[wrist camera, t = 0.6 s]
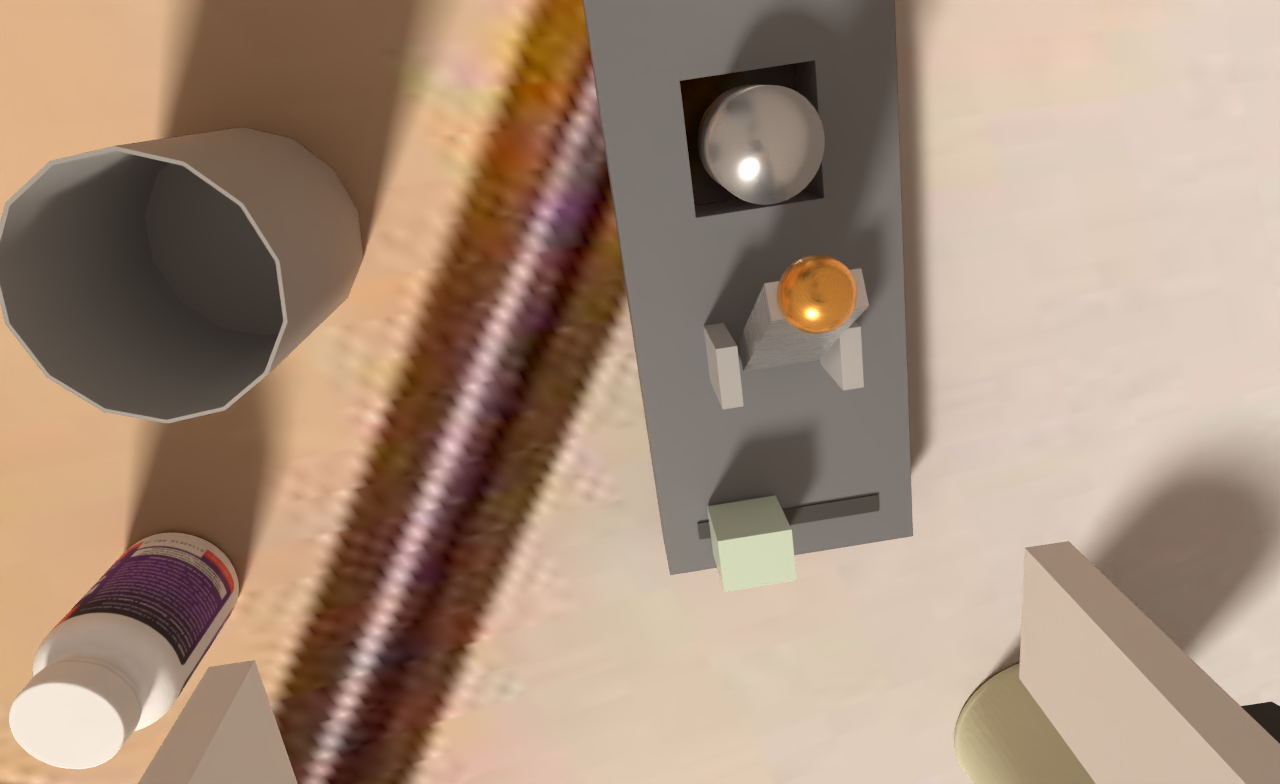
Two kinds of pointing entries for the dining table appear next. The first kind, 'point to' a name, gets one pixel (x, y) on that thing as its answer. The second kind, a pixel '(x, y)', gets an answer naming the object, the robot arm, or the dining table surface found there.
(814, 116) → the grey button
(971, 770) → the can
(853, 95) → the panel
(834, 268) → the lever
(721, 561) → the slider
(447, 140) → the dining table surface
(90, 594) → the pill bottle
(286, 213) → the cup
